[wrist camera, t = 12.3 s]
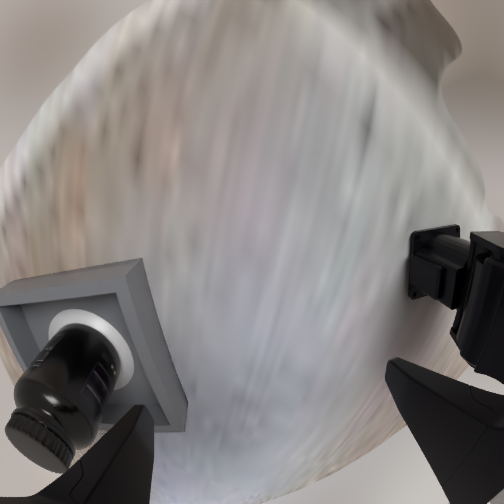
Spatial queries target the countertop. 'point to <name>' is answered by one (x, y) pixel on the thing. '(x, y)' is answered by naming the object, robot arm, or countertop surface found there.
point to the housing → (109, 324)
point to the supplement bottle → (63, 396)
